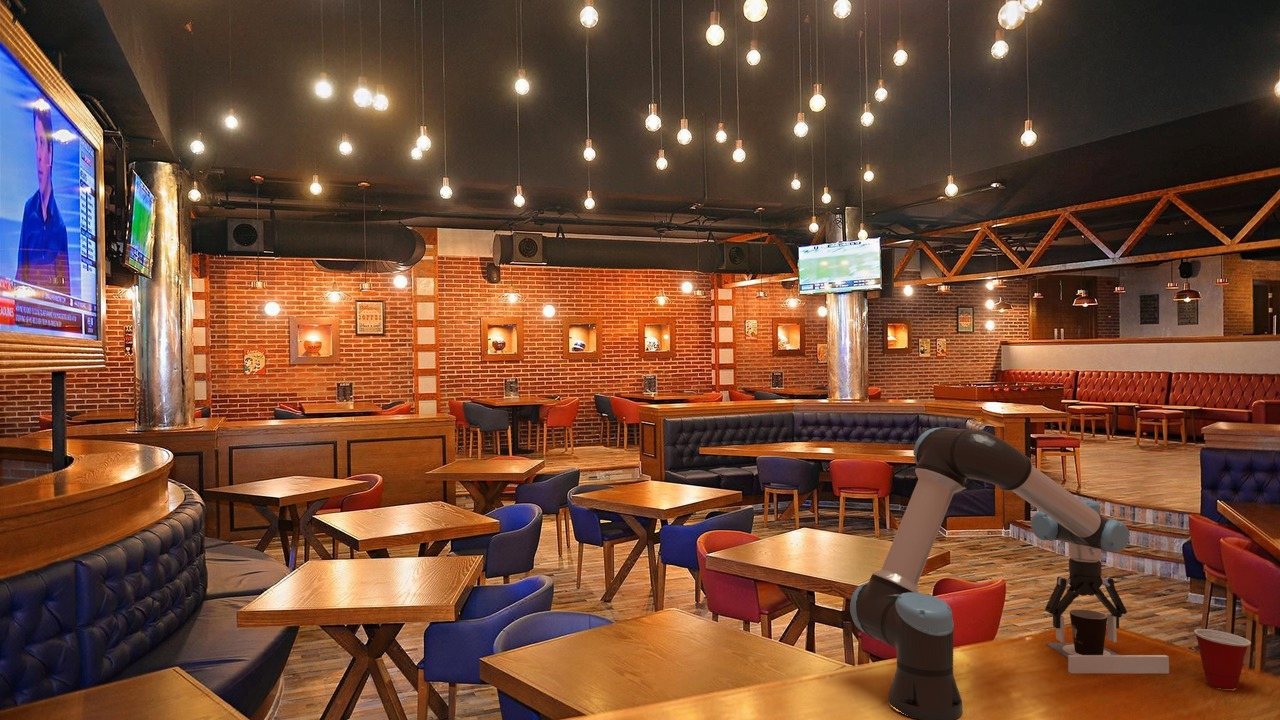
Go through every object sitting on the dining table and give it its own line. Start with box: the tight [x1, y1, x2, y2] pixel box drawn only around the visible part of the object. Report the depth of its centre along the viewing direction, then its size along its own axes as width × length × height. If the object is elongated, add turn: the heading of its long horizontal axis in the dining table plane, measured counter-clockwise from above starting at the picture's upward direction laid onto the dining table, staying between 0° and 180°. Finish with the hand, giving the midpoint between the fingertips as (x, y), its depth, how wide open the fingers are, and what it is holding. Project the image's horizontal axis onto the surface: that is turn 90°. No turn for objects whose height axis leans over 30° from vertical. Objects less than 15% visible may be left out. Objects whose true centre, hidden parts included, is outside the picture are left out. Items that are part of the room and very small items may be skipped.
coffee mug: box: [1069, 608, 1107, 655], centre depth 209 cm, size 12×9×10 cm
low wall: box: [1067, 654, 1170, 674], centre depth 195 cm, size 24×1×4 cm, turn 90°
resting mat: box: [1045, 642, 1119, 659], centre depth 209 cm, size 14×14×1 cm
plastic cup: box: [1193, 628, 1252, 689], centre depth 186 cm, size 11×11×12 cm
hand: (1086, 640), depth 209 cm, fingers open, 13 cm apart
